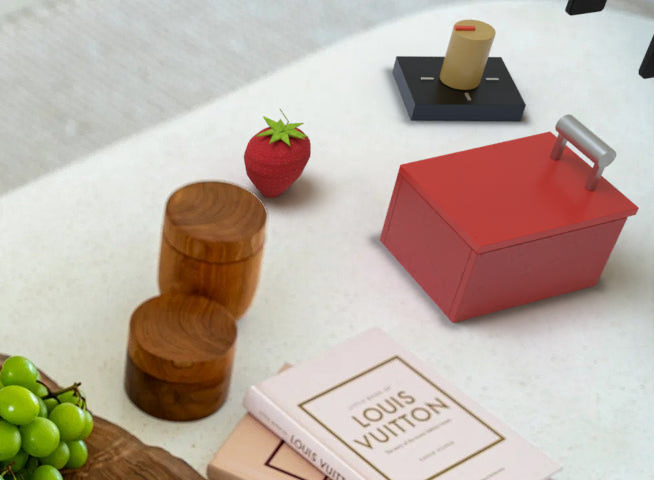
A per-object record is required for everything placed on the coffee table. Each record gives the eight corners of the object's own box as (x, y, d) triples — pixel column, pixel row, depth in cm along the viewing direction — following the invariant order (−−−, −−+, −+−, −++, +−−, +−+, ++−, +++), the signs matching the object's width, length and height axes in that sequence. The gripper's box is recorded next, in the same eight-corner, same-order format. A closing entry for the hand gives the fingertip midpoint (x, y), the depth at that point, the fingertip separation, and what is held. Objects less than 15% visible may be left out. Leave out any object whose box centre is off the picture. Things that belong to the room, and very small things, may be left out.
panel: (493, 80, 133) (501, 55, 131) (517, 128, 126) (526, 103, 124) (390, 79, 133) (396, 54, 131) (408, 128, 126) (415, 102, 124)
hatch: (547, 138, 109) (565, 90, 106) (635, 215, 101) (658, 166, 97) (398, 171, 105) (411, 123, 102) (477, 254, 97) (495, 205, 94)
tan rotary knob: (474, 69, 129) (490, 16, 124) (484, 90, 126) (501, 37, 121) (435, 68, 129) (450, 16, 124) (444, 90, 126) (459, 37, 121)
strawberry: (223, 201, 117) (235, 116, 109) (269, 171, 120) (284, 86, 113) (269, 227, 114) (285, 141, 107) (315, 195, 117) (333, 110, 110)
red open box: (512, 214, 116) (540, 140, 109) (593, 292, 107) (628, 217, 101) (377, 247, 112) (397, 172, 105) (450, 330, 104) (477, 254, 97)
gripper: (853, -148, 72) (733, 94, 84) (680, -240, 83) (597, -16, 95) (751, -135, 70) (644, 108, 83) (589, -231, 82) (516, -4, 94)
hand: (618, 42), depth 89 cm, fingers open, 9 cm apart
